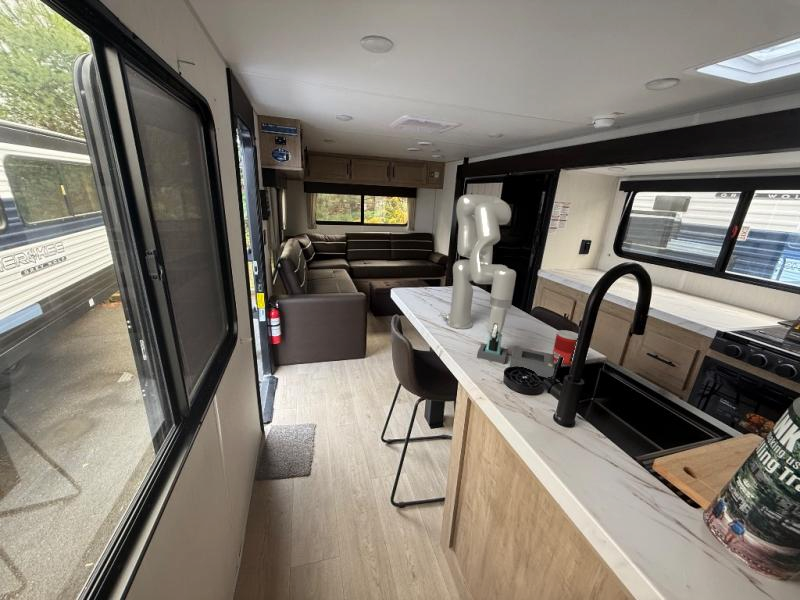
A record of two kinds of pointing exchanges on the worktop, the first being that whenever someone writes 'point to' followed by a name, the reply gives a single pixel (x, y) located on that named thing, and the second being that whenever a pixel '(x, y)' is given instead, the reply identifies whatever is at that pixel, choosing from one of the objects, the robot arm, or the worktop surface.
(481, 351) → the holster
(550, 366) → the port
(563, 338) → the canned food
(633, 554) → the worktop surface
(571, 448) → the worktop surface
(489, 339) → the plug
